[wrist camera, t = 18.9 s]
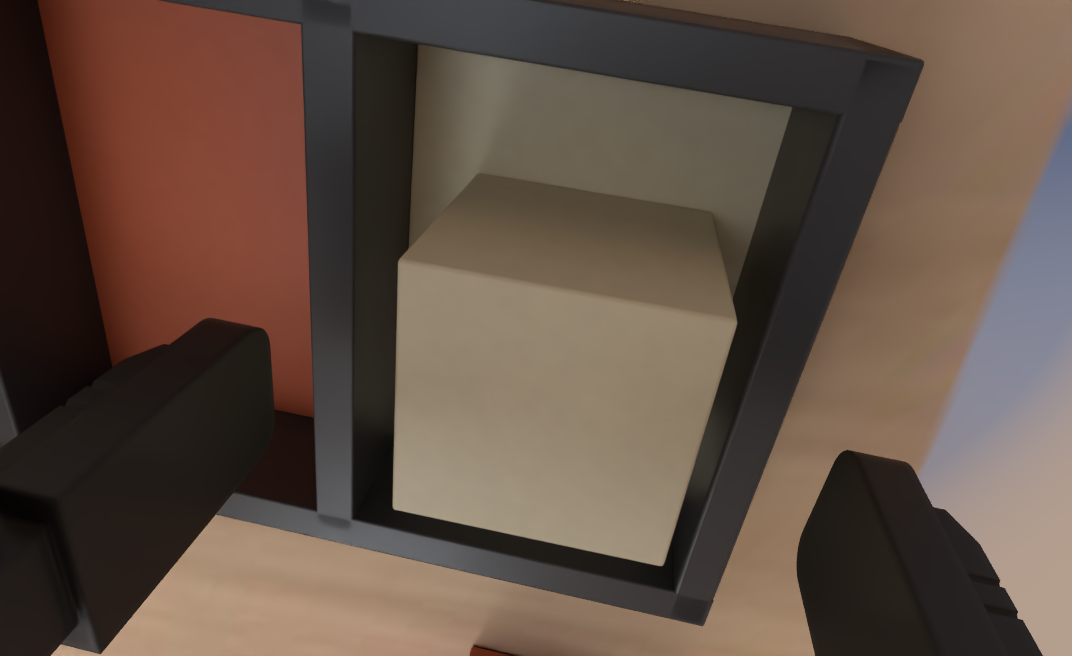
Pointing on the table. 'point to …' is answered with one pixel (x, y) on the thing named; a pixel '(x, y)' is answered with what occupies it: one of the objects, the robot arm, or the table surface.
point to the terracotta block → (484, 652)
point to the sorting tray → (414, 218)
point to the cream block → (558, 364)
